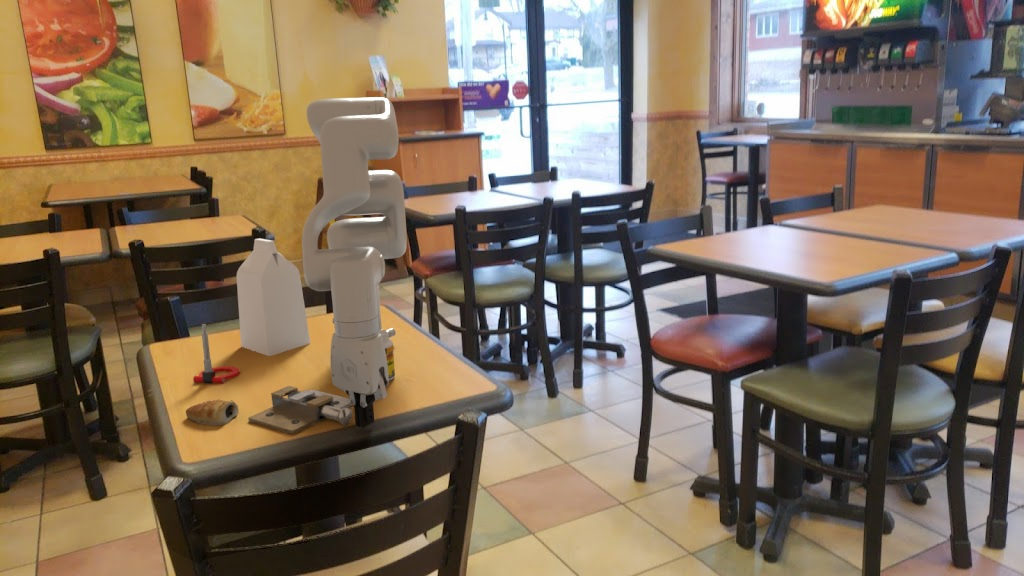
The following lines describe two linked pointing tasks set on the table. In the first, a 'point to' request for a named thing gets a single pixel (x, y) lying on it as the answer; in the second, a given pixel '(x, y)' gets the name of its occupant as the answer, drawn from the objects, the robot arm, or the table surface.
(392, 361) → the supplement bottle
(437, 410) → the table surface
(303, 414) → the hinge leaves
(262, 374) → the table surface
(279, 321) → the milk
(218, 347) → the table surface
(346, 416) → the pin
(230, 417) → the pastry
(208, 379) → the tow hook
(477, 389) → the table surface
